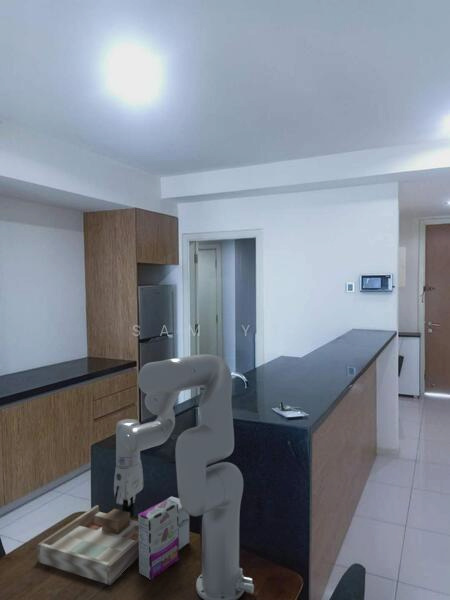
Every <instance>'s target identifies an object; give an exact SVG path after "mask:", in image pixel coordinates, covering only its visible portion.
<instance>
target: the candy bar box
mask: <svg viewBox="0 0 450 600" xmlns="http://www.w3.org/2000/svg"><path fill="white" fill-rule="evenodd" d="M137 521H138V538H139V558H138V574H139V573H141V574H142V575H144V576H146V577H147V578H146V577H145V578H146V579H148V578H149V579H148V580H150V581H152V580H153V579H154V577H155V576H156V577H158V576H159V575H160V574H161V572H162V571H163V572H165V571H166V570H167V569H168V567H169V568H170V567H172V566H173V565H174V564H176V563H177V562H178V561H180V552H179V550H180V549H179V534H178V503H175V502H173V501H170V500H168V498H166V499H164V500H162V501H161V502H159V503H157V504H155V505H153V506H151V507H149V508H147V509H146V510H144V511H142V512H140V513H138V514H137ZM165 569H166V570H165ZM163 572H162V573H163ZM159 573H160V574H159ZM141 574H140V575H141ZM158 574H159V575H158ZM142 575H141V576H142ZM144 576H143V577H144ZM156 577H155V578H156ZM151 579H152V580H151Z"/></svg>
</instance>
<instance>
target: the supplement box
mask: <svg viewBox="0 0 450 600" xmlns="http://www.w3.org/2000/svg"><path fill="white" fill-rule="evenodd" d="M167 499H168V500H170V501H173V502H175V503H178V534H179V550H181V549H182V548H183V547H185V546H186V545H187V544H189V543H190V515H189V514H187V513H186V512H185V511H184V509H183V508H182V506H181V503H180V500H179V497H175V496H169V497H168V498H167Z"/></svg>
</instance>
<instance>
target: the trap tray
mask: <svg viewBox="0 0 450 600" xmlns="http://www.w3.org/2000/svg"><path fill="white" fill-rule="evenodd" d="M106 514H107V512H106V513H105V512H101V511H100V506H99V505H98V504H96V505H94V506H93V507H91V508H89V509H88V510H87V511H85V512H84V513H82V514H81V515H79V516H78V517H76V518H75V519H73V520H72V521H70V522H69V523H67V524H66V525H64V526H62V527H61V528H60V529H58V530H57V531H55V532H54V533H52V534H51V535H49V536H48V537H46V538H44V539H43V540H42V541H40V542H39V543H37V563H39V564H43V565H47V566H50V567H52V568H56V569H58V570H62V571H65V572H68V573H71V574H75V575H76V576H77V575H78V576H80V577H84V578H87V579H90V580H93V581H97V582H99V583H103V584H106V585H109V586H112V584H113V583H114V582H116V580H117V579H118V578H119V577H120V576H122V575H123V574H124V573H125V572H126V571H127V570H128V569H129V568H130V567H131V566H132V565H133V564H134V563H135V562H136V561H137V560H138V559H139V558H138V557H139V538H137V539H136V540H132V539H133V538H134V536H135V535H134V534H138V520H133V519H132V518H130V526H128V527H127V528H126V529H125V530H123V531H122V532H121V533H120V534H119V535H117V534H113V533H110V532H106V531H102V517H103V516H105V515H106ZM133 535H134V536H133ZM137 558H138V559H137ZM136 559H137V560H136ZM135 560H136V561H135ZM134 561H135V562H134ZM133 562H134V563H133ZM132 563H133V564H132ZM131 564H132V565H131ZM130 565H131V566H130ZM129 566H130V567H129ZM128 567H129V568H128ZM127 568H128V569H127ZM126 569H127V570H126ZM125 570H126V571H125ZM124 571H125V572H124ZM123 572H124V573H123ZM122 573H123V574H122Z"/></svg>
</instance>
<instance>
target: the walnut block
mask: <svg viewBox="0 0 450 600" xmlns="http://www.w3.org/2000/svg"><path fill="white" fill-rule="evenodd" d="M130 519H131V518H130V512H126V511H123V509H122V510H121V509H117V508H113V509H112V510H110V511H109V512H108V513H106V515H105V516H103V517H102V531H106V532H110V533H113V534H117V535H119V534H120V533H121V532H122V531H123V530H125V529H126V528H127V527H128V526H130Z"/></svg>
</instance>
